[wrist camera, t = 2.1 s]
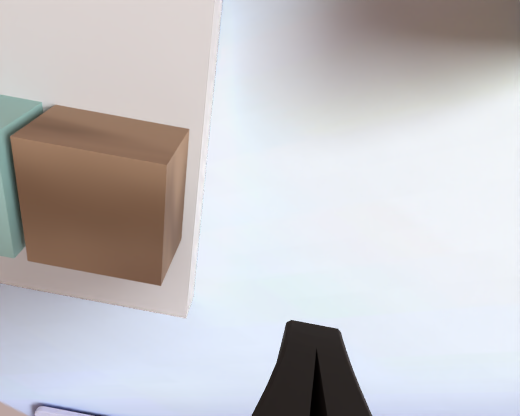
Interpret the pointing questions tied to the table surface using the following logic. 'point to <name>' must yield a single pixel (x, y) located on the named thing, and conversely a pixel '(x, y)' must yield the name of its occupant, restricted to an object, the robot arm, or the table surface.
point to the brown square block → (101, 192)
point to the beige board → (118, 109)
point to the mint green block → (12, 171)
